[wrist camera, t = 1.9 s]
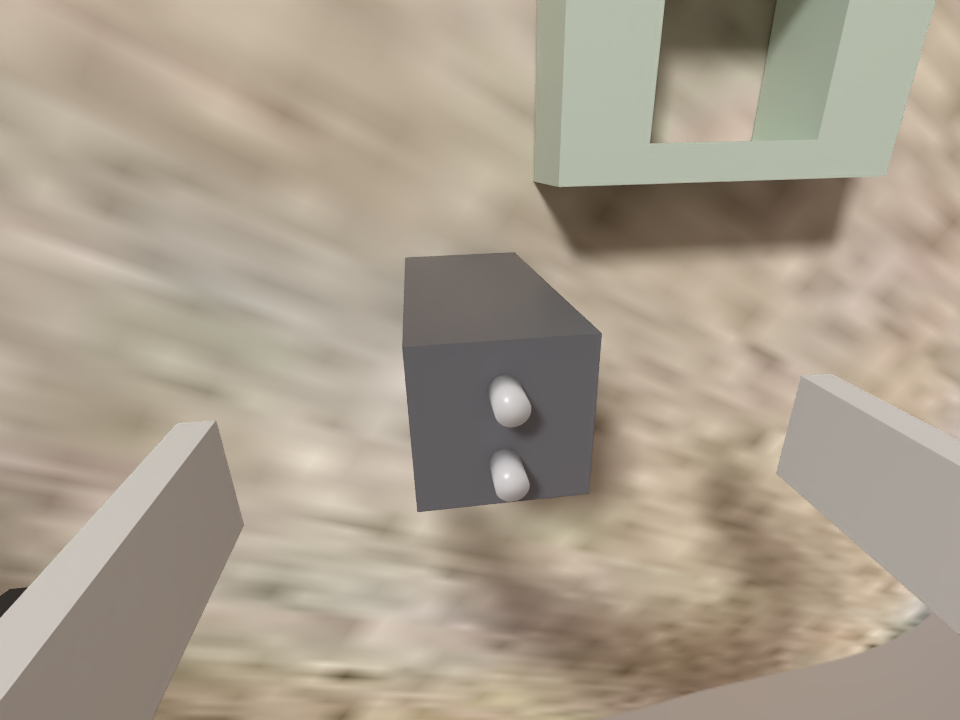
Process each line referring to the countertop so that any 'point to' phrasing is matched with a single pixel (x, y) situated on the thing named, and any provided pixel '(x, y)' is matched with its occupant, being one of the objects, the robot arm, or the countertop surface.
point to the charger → (495, 383)
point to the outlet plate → (782, 103)
